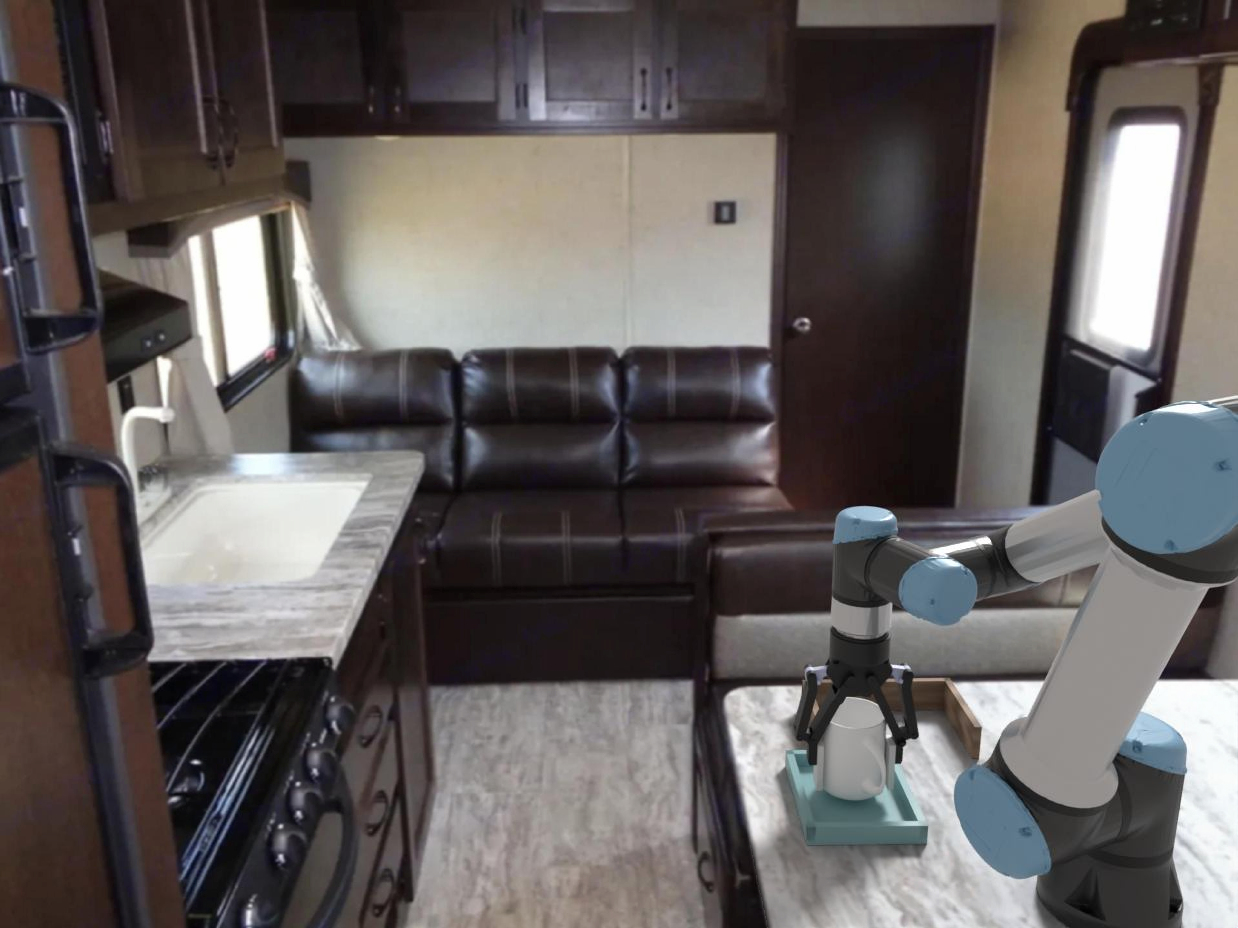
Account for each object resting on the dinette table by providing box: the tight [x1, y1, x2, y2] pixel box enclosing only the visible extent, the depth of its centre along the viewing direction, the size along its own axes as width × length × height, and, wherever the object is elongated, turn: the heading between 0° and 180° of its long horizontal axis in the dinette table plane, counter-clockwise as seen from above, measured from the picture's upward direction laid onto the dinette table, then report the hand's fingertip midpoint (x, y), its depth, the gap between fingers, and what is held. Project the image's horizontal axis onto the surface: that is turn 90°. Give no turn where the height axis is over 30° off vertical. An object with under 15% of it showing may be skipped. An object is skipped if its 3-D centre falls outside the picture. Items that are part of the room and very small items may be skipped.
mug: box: [821, 697, 887, 801], centre depth 136 cm, size 9×12×11 cm
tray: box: [784, 749, 929, 846], centre depth 138 cm, size 18×15×3 cm
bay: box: [801, 677, 983, 759], centre depth 155 cm, size 15×23×5 cm, turn 90°
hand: (852, 784), depth 137 cm, fingers closed on mug, 9 cm apart
